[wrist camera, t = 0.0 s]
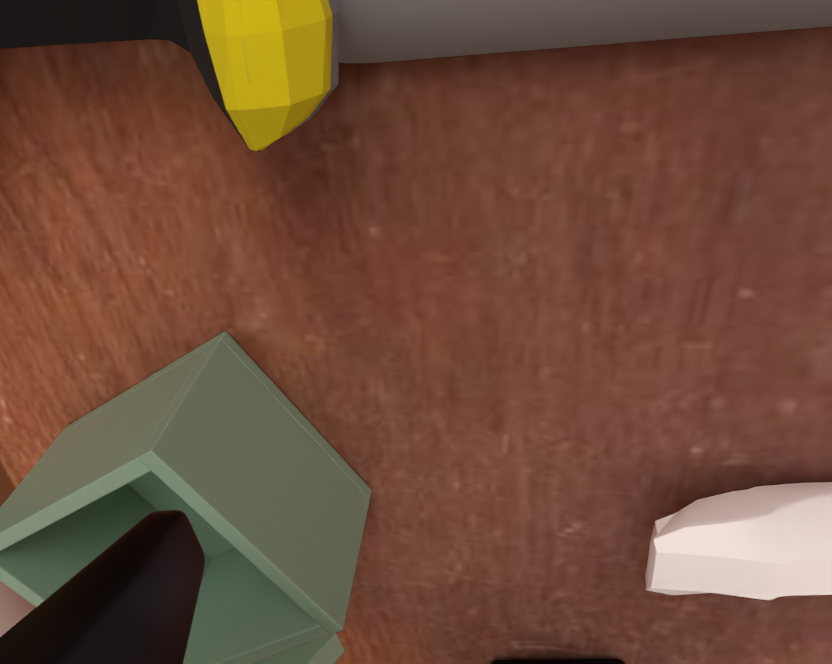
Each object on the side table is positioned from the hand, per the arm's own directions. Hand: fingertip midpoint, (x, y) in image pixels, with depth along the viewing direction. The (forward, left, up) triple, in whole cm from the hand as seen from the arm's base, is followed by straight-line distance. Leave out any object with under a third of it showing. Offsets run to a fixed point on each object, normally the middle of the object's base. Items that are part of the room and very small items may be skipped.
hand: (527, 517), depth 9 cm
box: (-11, +13, -15) cm, 23 cm away
